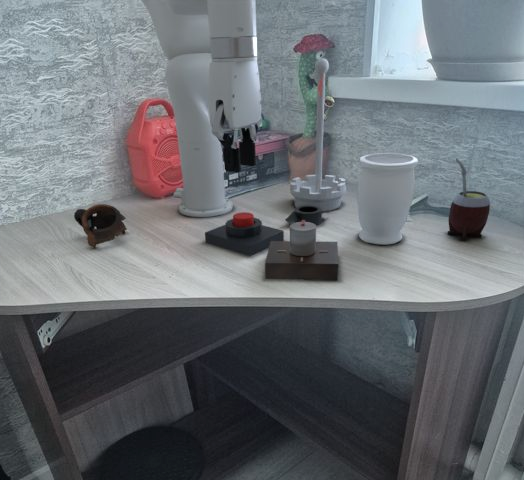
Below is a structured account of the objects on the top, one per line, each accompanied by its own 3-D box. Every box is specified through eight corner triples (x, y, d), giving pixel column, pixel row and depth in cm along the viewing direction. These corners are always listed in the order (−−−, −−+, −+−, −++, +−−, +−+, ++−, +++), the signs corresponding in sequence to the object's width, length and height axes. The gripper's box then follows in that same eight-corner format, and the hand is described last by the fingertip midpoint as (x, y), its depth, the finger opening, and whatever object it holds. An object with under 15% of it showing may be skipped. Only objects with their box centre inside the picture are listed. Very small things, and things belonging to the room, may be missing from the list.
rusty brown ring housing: (140, 234, 103) (132, 207, 95) (118, 267, 99) (108, 242, 91) (90, 217, 104) (79, 188, 97) (66, 249, 100) (53, 222, 93)
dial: (315, 256, 80) (316, 228, 78) (289, 256, 81) (288, 228, 78) (315, 246, 84) (316, 219, 82) (290, 246, 85) (290, 219, 82)
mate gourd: (483, 231, 96) (501, 151, 88) (482, 245, 90) (501, 161, 82) (444, 227, 99) (458, 150, 91) (441, 240, 93) (455, 159, 85)
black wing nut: (284, 217, 108) (284, 204, 106) (329, 216, 107) (330, 203, 106) (285, 229, 101) (284, 215, 100) (332, 228, 101) (333, 214, 99)
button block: (205, 243, 96) (203, 223, 94) (240, 229, 102) (239, 210, 100) (249, 257, 89) (248, 236, 87) (283, 241, 95) (283, 221, 93)
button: (229, 225, 94) (228, 216, 93) (243, 219, 96) (242, 210, 95) (244, 229, 91) (243, 220, 90) (258, 223, 94) (257, 214, 93)
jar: (408, 249, 90) (420, 165, 82) (352, 246, 92) (358, 164, 84) (406, 229, 99) (416, 152, 90) (355, 227, 100) (360, 151, 92)
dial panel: (265, 279, 81) (264, 262, 79) (271, 256, 89) (270, 240, 87) (337, 280, 79) (338, 262, 78) (336, 257, 88) (337, 240, 86)
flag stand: (294, 196, 122) (295, 57, 105) (346, 197, 119) (355, 55, 103) (286, 211, 111) (285, 60, 95) (343, 213, 109) (352, 58, 92)
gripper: (243, 49, 86) (248, 157, 96) (183, 53, 74) (196, 176, 84) (279, 48, 82) (281, 160, 92) (223, 52, 70) (231, 181, 80)
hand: (240, 167), depth 88 cm, fingers open, 4 cm apart
